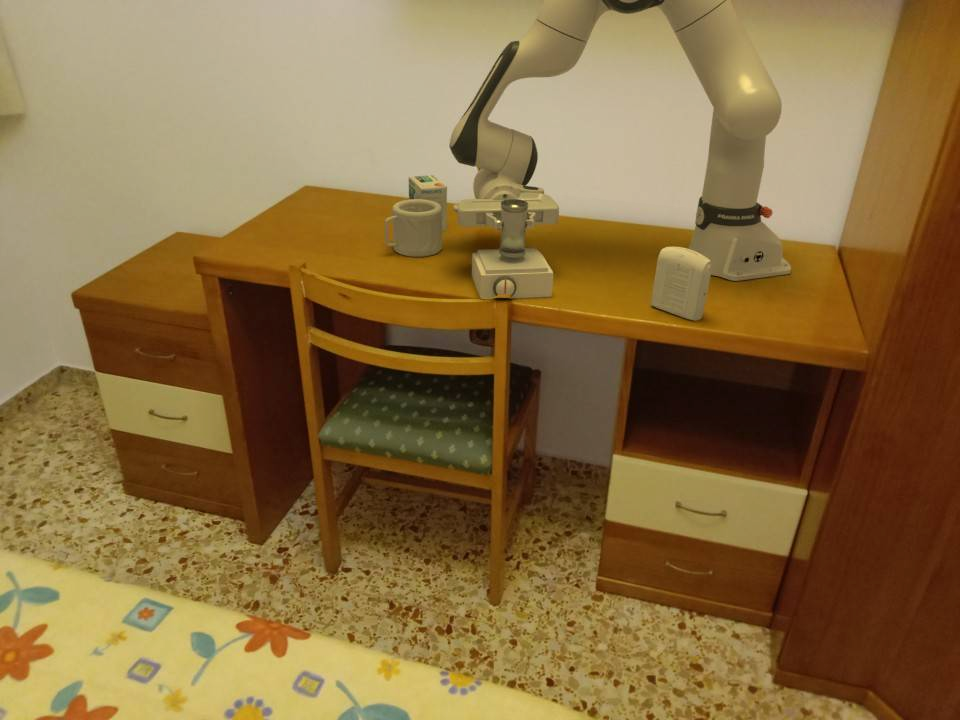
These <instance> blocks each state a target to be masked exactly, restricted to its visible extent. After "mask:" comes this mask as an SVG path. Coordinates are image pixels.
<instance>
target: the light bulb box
mask: <svg viewBox="0 0 960 720" xmlns="http://www.w3.org/2000/svg"><path fill="white" fill-rule="evenodd" d="M447 197H448V185H446V184H445V183H444V182H442V181H441V180H440V179H439V178H438V177H437V176H435V175H434V174H430V175H429V174H428V175H419V176H408V200H411V199H423V200H430V201H434V202H437V203H438V204H440V205H441V207H442V232H443V231H444V232H445V231H447V225H448V224H447V219H448V217H447V215H448V214H447V208H448V205H447V204H448V201H447V200H448V198H447Z"/></svg>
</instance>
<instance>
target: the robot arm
mask: <svg viewBox="0 0 960 720" xmlns="http://www.w3.org/2000/svg"><path fill="white" fill-rule="evenodd" d="M655 7H657V8H658V9H659V10H660V11H661V12H662V13H663V15H664V16H665V18H666V19H667V22H668V23H669V24H670V27H671V29H672V31H673V32H674V34H675V37H676V38H677V40H678V42H679V44H680V46H681V48H682V50H683V52H684V54H685V55H686V57H687V60H688V61H689V63H690V65H691V67H692V68H693V71H694V73H695V75H696V77H697V79H698V81H699V82H700V84H701V87H702V89H703V90H704V92H705V94H706V96H707V98H708V100H709V102H710V104H711V106H712V107H713V109H712V110H713V112H712V117H711V118H712V119H711V127H710V135H709V144H708V145H709V146H708V154H707V155H708V157H707V162H706V163H707V164H706V168H705V169H706V170H705V175H704V180H703V186H702V193H701V196H700V197H699V198H698V199H699V200H698V203H697V209H696V213H695V225H694V230H693V234H692V238H691V240H690V244H689V246H688V248H687V249H690V250H693V251H695V252H698V253H700V254H702V255H703V256H705V257H706V258H708V259H709V260H710V261H711V262H712V271H711V276H716V277H720V278H722V279H725V280H729V281H734V282H739V281H744V280H745V281H746V280H752V279H753V280H754V279H760V278H761V279H762V278H767V277H777V276H783V275H785V276H786V275H789V274H791V271H792V265H791V264H790V263H789V262H788V261H787V260H786V259H785V257H783V251H784V250H783V243H782V240H781V239H780V238H779V236H777V235H776V233H774V232H773V231H772V230H771V229H770V227H768V226H767V225H766V224H765V223H764V222H763V220H762V217H764V218H765V219H769V218H771V217H772V216H773V214H774V213H773V210H772V208H769V207H768V206H763V205H761V204H760V203H759V202H757V201H758V197H759V192H760V187H761V182H762V177H763V172H764V167H765V149H766V141H767V136H768V135H769V134H771V133H772V132H773V131H774V130H775V128H776V127H777V125H778V124H779V121H780V118H781V114H782V107H783V106H782V99H781V96H780V94H779V91H778V90H777V89H778V88H777V87H776V86H775V84H774V81H773V80H772V78H771V76H770V73H769V72H768V70H767V68H766V66H765V65H764V63H763V61H762V59H761V57H760V56H759V53H758V52H757V49H756V48H755V46H754V44H753V43H752V41H751V39H750V37H749V35H748V33H747V31H746V29H745V27H744V25H743V23H742V21H741V19H740V17H739V15H738V13H737V10H736V9H735V7H734V5H733V3H732V1H731V0H543V1H542V4H541V6H540V8H539V10H538V12H537V15H536V17H535V20H534V22H533V24H532V26H531V27H530V29H529V30H528V31H527V32H526V34H525V35H523V36H522V37H521V38H520V39H519V40H513V41H510V42H508V44H507V45H506V46H505V48H503V50H502V51H501V53H500V55H499V56H498V57H497V59H496V61H495V62H494V64H493V66H492V67H491V69H490V71H489V72H488V74H487V75H486V77H485V78H484V81H483V82H482V84H481V85H480V88H479V89H478V90H477V92H476V94H475V96H474V98H473V99H472V101H471V103H470V104H469V106H468V108H467V109H466V111H465V112H464V113H463V115H462V116H461V117H460V120H458V122H457V123H456V125H455V126H454V128H453V130H452V132H451V135H450V140H449V150H450V151H451V154H452V155H453V158H454V160H456V162H457V163H458V164H461V165H466V166H469V167H476V168H479V170H478V172H476V174H475V177H474V179H473V187H472V188H473V190H472V191H473V195H474V198H468V199H467V198H466V199H461V200H459V201H458V204H454V205H453V206H452V209H453V212H454V213H456V214H457V224H458V225H459V226H461V227H463V228H470V227H471V228H472V227H473V228H474V227H475V228H476V227H491V228H492V229H494V230H495V231H497V230H498V231H499V230H501V229H502V220H501V213H502V209H501V202H502V201H504V200H509V199H517V200H523V201H526V202H527V203H528V209H527V216H526V230H528V229H530V230H531V229H534V228H535V226H537V225H542V226H543V225H555V224H557V223H558V222H559V217H560V216H559V215H560V214H559V213H560V207H559V205H558V203H557V202H556V201H555V200H554V199H553V197H552V196H550V195H548V194H545V190H544V188H543V187H539V186H530V185H528V184H529V183H530V181H531V179H532V177H533V176H534V173H535V171H536V168H537V163H538V160H539V159H538V158H539V156H538V155H539V154H538V148H537V145H536V142H535V140H534V137H532V135H529V134H526V133H524V132H521V131H518V130H515V129H513V128H509V127H506V126H503V125H502V124H501V125H500V124H498V123H496V122H493V121H491V120H489V117H490V115H491V114H492V112H493V111H494V109H495V107H496V105H497V104H498V102H499V100H500V98H501V96H502V95H503V94H504V92H505V90H506V89H507V88H508V86H509V85H511V84H512V83H513V82H516V81H518V80H523V79H527V78H528V79H529V78H554V77H557V76H561V75H563V74H565V73H567V72H569V71H570V70H572V69H573V68H575V66H576V65H577V64H578V61H579V60H580V58H581V56H582V55H583V53H584V50H585V48H586V46H587V43H588V41H589V40H590V37H591V35H592V31H593V29H594V28H595V26H596V23H597V22H598V20H599V19H600V18H601V17H602V15H603V14H605V13H606V12H609V11H614V12H617V13H619V14H623V15H624V14H626V15H627V14H629V15H630V14H635V13H640V12H642V11H646V10H647V9H651V8H655ZM761 216H762V217H761Z"/></svg>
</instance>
